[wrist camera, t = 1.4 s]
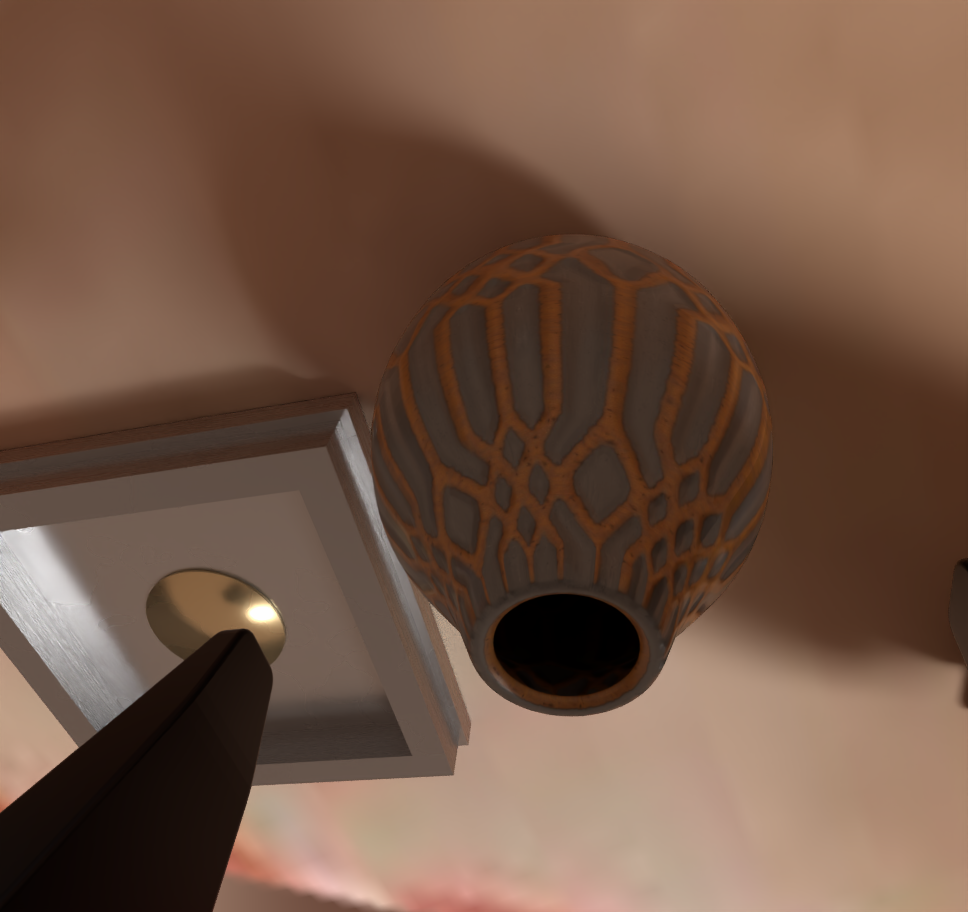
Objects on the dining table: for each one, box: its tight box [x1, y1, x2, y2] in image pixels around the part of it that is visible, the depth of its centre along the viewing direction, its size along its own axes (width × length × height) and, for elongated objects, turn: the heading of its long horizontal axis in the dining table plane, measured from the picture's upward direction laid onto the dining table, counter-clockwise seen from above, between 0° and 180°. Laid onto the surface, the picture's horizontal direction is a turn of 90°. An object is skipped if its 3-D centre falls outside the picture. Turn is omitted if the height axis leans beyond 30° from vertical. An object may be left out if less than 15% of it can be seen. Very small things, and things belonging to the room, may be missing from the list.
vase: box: [371, 234, 773, 716], centre depth 12 cm, size 7×7×9 cm
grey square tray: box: [0, 393, 471, 786], centre depth 20 cm, size 12×12×2 cm
